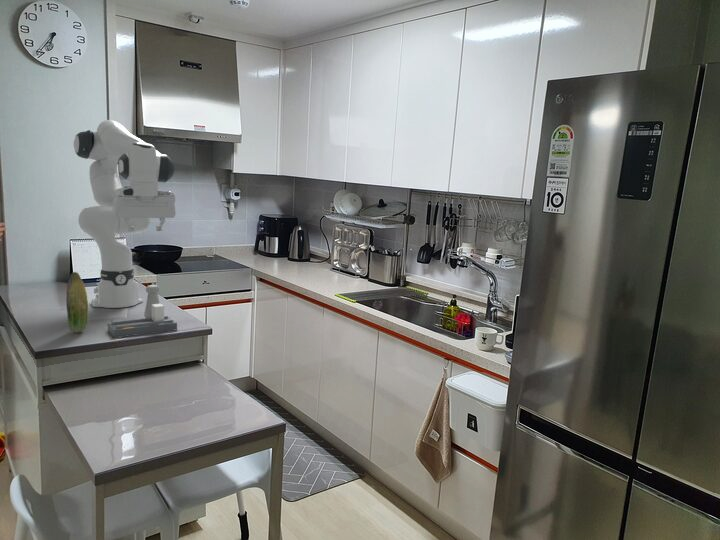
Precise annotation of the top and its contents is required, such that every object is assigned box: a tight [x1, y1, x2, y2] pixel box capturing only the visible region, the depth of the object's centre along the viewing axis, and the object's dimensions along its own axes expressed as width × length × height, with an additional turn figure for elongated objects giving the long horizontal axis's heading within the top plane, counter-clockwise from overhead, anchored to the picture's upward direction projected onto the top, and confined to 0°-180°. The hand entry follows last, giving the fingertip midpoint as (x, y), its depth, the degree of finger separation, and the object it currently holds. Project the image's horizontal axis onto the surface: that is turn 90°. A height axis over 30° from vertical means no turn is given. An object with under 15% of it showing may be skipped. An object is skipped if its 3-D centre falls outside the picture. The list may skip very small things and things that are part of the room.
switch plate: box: [107, 315, 178, 338], centre depth 180 cm, size 9×20×3 cm, turn 126°
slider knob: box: [152, 303, 165, 321], centre depth 183 cm, size 4×3×5 cm
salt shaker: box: [143, 284, 161, 318], centre depth 191 cm, size 6×6×13 cm
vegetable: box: [65, 271, 89, 334], centre depth 173 cm, size 6×6×20 cm
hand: (145, 231), depth 186 cm, fingers open, 8 cm apart
